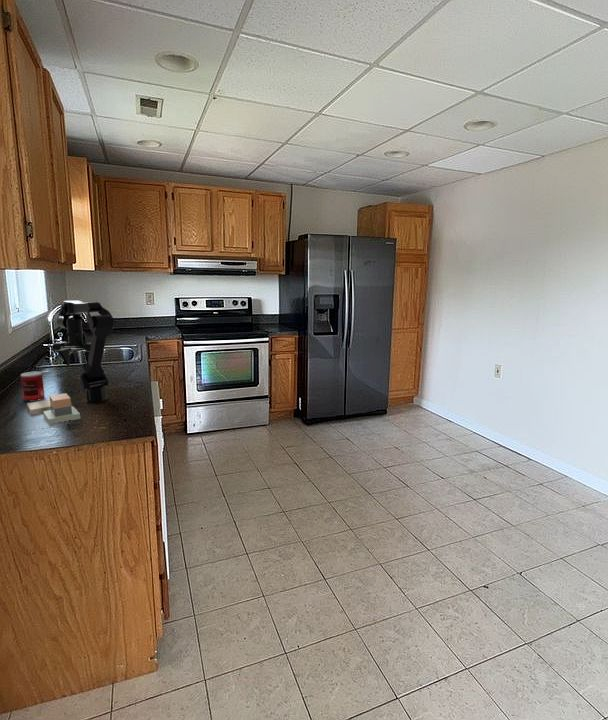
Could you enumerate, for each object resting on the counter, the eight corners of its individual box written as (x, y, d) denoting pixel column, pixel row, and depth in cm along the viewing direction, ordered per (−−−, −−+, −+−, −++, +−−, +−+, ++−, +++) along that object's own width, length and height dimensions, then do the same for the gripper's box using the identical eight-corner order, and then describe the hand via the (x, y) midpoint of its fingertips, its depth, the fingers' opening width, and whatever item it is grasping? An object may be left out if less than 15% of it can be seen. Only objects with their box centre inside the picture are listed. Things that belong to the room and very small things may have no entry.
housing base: (50, 411, 156) (50, 403, 155) (67, 408, 159) (66, 400, 158) (55, 416, 150) (54, 408, 149) (72, 413, 153) (71, 405, 152)
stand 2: (43, 416, 156) (43, 411, 155) (73, 411, 162) (73, 406, 162) (49, 424, 147) (48, 419, 147) (80, 418, 154) (79, 413, 153)
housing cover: (50, 403, 155) (49, 395, 154) (66, 400, 158) (66, 393, 158) (54, 408, 149) (53, 400, 148) (71, 405, 152) (70, 398, 152)
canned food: (40, 394, 183) (37, 370, 181) (47, 398, 178) (44, 373, 176) (20, 398, 177) (17, 373, 175) (27, 402, 172) (24, 376, 170)
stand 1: (59, 403, 172) (58, 398, 171) (64, 409, 164) (63, 404, 164) (27, 408, 165) (26, 403, 165) (31, 414, 157) (30, 409, 157)
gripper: (106, 328, 185) (109, 362, 188) (66, 327, 187) (70, 361, 190) (91, 331, 174) (94, 368, 177) (49, 330, 176) (53, 366, 179)
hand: (78, 365), depth 181 cm, fingers open, 9 cm apart
